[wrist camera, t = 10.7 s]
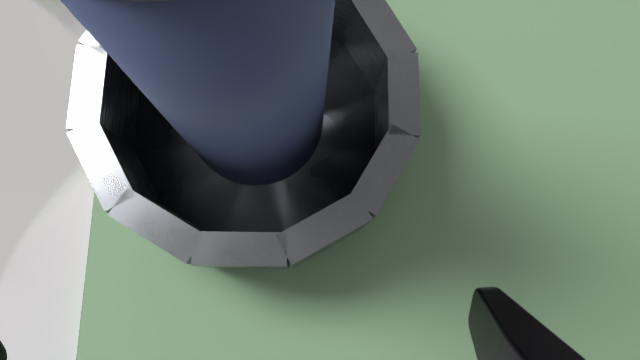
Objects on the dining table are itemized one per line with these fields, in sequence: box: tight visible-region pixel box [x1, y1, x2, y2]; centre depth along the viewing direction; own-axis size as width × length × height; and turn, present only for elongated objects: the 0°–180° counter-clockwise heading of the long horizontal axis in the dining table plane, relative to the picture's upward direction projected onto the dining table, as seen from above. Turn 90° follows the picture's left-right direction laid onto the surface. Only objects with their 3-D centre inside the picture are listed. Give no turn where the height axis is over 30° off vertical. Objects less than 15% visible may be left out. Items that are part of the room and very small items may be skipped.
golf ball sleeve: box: [61, 0, 335, 186], centre depth 12 cm, size 5×5×13 cm
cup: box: [66, 0, 421, 268], centre depth 17 cm, size 11×11×4 cm
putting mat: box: [76, 0, 640, 360], centre depth 19 cm, size 16×34×1 cm, turn 89°
